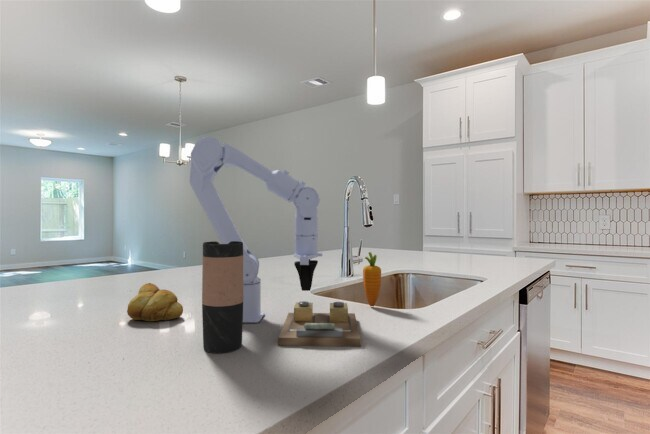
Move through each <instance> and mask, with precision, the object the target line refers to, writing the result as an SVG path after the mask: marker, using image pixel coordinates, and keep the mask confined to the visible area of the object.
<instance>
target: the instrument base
mask: <svg viewBox="0 0 650 434" xmlns="http://www.w3.org/2000/svg"><path fill="white" fill-rule="evenodd" d="M356 318H357V317H356V313H349V312H348V322H330V312H313V318H312V322H301V321H294V312H288V313H287V316H286V318H285V321H284V323H283V326H282V327H281V329H280V333H279V334H278V337H277V345H278V346H296V347H297V346H301V347H302V346H303V347H304V346H308V347H312V346H314V347H317V346H319V347H361V345H362V344H361V341H362V339H361V334H360V331H359V326H358V322H357V319H356Z"/></svg>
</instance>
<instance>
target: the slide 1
mask: <svg viewBox="0 0 650 434" xmlns="http://www.w3.org/2000/svg"><path fill="white" fill-rule="evenodd" d="M293 313H294V321H301V322H312V318H313V313H314V302H309V301H299V302H295V304H294V307H293Z"/></svg>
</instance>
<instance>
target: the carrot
mask: <svg viewBox="0 0 650 434" xmlns="http://www.w3.org/2000/svg"><path fill="white" fill-rule="evenodd" d="M368 256H369V257H368ZM368 256H364V259H365V260H366V261H368V263H369V265H365V266H364V267H363V269H362V277H363V278H362V282H363V289H364V295H365V299H366V301H367V303H368V304H369V305H368V306H370V307H371V306H373V307H374V306H375V305H376V303H377V301H378V298H379V295H380V291H381V286H382V285H381V284H382V268H381V267H380V266H378V265H376V262H377V255H376V254H374V255H373V254H372V252H371V251H369V252H368Z"/></svg>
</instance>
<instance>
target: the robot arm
mask: <svg viewBox="0 0 650 434" xmlns="http://www.w3.org/2000/svg"><path fill="white" fill-rule="evenodd" d="M222 144H223V145H222ZM222 144H221V142H220V140H219V139H217V138H215V137H213V136H203V137H200V138H199V139H197V141H196V142H195V144H194V146H193V147H192V148H193V149H192V150H191V153H190V172H189V183H190V186H191V188H192V190H193V192H194V194H195V196H196V198H197V200H198V202H199V203H200V206H201V207H202V209H203V212H205V214H206V216H207V219H208V220H209V222H210V224H211V226H212V228H213V230H214V231H215V234H216V235H217V237H218V239H219V241H220V242H221V243H220V244H228V243H229V242H231V241H239V242H243V323H252V324H253V323H255V324H256V323H259V322H261V320H262V318H263V317H264V316H265V311H261V309H262V308H261V301H262V300H261V299H262V298H261V296H262V295H261V293H262V292H261V291H262V290H261V287H262V286H261V284H262V283H261V281H262V280H261V278H260V277H258V274H259V268H260V261H259V258H258V257H257V255H255V254H254V253H252V251H250V250H249V248H248V246H247V244H246V243H245V241H244V240H243V238H242V236H241V234H240V232H239V230H238V228H237V227H236V225H235V223H234V221H233V219H232V217H231V215H230V213H229V211H228V210H227V207H226V206H225V204H224V202H223V200H222V199H221V196H220V195H219V193H218V190H217V189H216V187H215V185H214V181H215V179H216V177H217V174H218V171H219V170H220V169H221V168H222V167H223V166H224V165H225V167H226V168H232V167H233V168H234V167H236V168H239V169H240V170H243V171H245V172H246V173H248V174H250V175H252V176H254V177H255V178H258V179H259V180H261V181H263V182H265V185H266V188H267V190H268V192H271V193H273V194H274V195H276V196H278V197H280V198H282V200H284V201H287V202H288V203H292V202H293V204H294V206H295V216H294V253H293V256H294V258H296V259H298V260H299V261H298V260H297V261H294V264H293V265H294V267H295V269H296V271H297V274H298V277H299V282H300V287H301V288H300V289H301V291H304V292H305V291H307V292H308V291H309V292H311V290H312V285H313V278H314V273H315V270H316V268H317V266H318V262H319V261H318V260H313V259H314V258H315V259H316V258H319V257H323V253H322V252H318V251H319V246H318V244H319V241H318V240H319V239H318V238H319V237H318V235H319V229H318V228H319V226H318V225H319V224H318V223H319V221H318V220H319V218H318V206H319V204H320V201H321V198H320V195H319V194H318V192H317V190H315V188H313V187H310V186H306V182H305V181H304V180H302V181H299V180H298V179H296V178H294V177H293V176H291V175H290V172H289V171H288V170H285V169H284V170H281V169H277V170H272V169H271V170H270V169H269V168H268V167H266V166H264V165H263V164H261V163H260V162H258V161H257V160H255V159H254V158H252V157H250V155H248V154H246V153H244V152H243V151H241V150H239V149H237V148H236V147H234V146H232V145H230V144H228V143H226V142H223V141H222Z"/></svg>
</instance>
